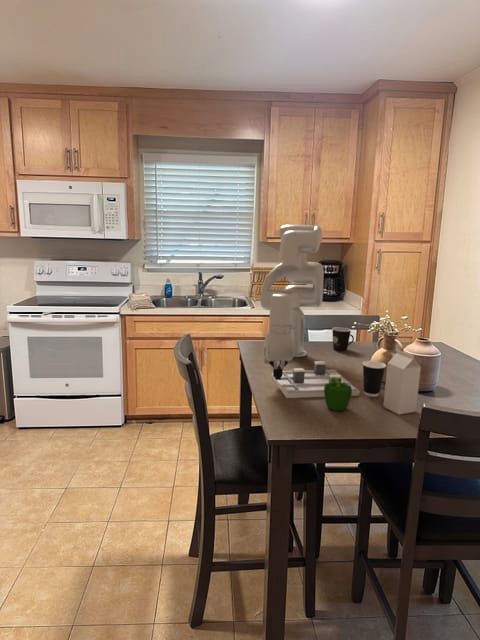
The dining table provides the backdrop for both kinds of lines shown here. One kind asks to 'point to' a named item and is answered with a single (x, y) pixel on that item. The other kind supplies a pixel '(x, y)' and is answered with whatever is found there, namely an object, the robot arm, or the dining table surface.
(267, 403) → the dining table surface
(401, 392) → the milk carton
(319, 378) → the board
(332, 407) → the bell pepper
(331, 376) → the breaker right
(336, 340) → the coffee mug
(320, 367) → the block
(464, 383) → the dining table surface
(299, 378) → the block
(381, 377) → the dixie cup
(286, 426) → the dining table surface
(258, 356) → the dining table surface
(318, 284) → the robot arm
